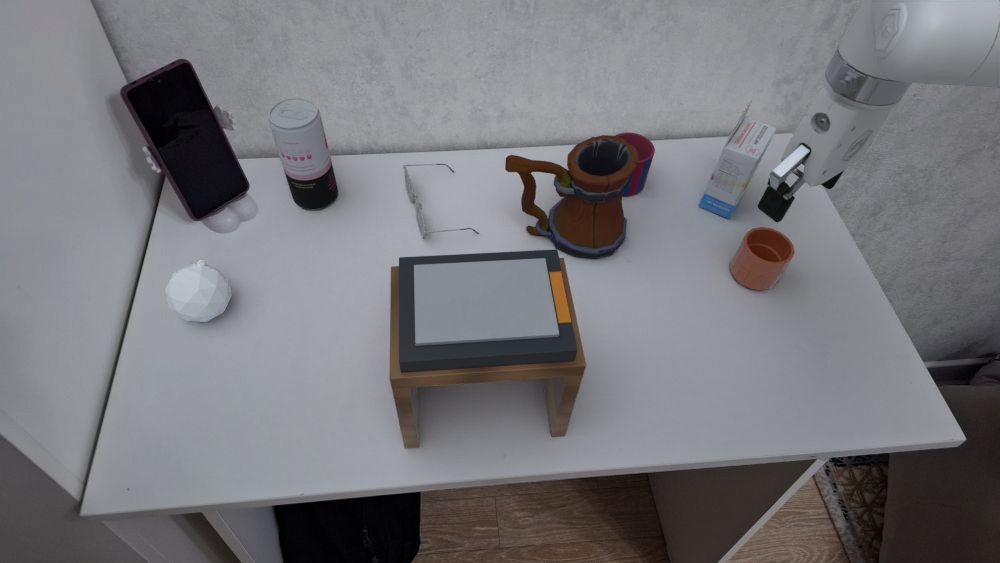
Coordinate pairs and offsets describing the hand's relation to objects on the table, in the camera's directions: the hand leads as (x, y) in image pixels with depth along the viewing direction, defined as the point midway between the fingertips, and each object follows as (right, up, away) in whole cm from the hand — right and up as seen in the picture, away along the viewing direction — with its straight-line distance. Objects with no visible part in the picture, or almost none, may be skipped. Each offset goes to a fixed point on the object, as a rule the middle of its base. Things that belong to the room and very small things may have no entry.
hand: (795, 197), depth 74 cm
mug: (-26, -3, +15) cm, 30 cm away
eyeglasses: (-44, +1, +17) cm, 47 cm away
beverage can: (-63, +3, +17) cm, 65 cm away
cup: (-18, +5, +22) cm, 29 cm away
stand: (-38, -23, -1) cm, 44 cm away
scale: (-37, -13, -14) cm, 42 cm away
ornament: (-72, -14, +4) cm, 74 cm away
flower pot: (-1, -9, +11) cm, 14 cm away
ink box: (-1, +3, +20) cm, 21 cm away
